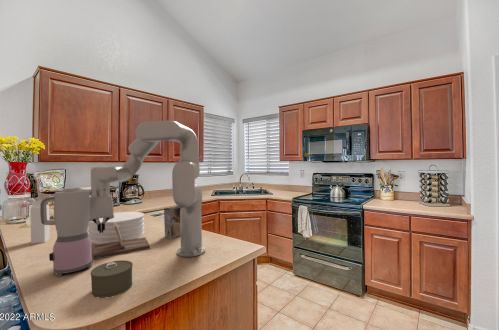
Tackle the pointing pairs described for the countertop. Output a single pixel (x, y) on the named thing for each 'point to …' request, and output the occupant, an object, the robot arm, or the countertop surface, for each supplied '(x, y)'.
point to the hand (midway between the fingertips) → (101, 232)
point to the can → (111, 278)
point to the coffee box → (172, 222)
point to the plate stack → (127, 225)
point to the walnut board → (120, 247)
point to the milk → (38, 224)
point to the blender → (70, 230)
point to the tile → (118, 234)
